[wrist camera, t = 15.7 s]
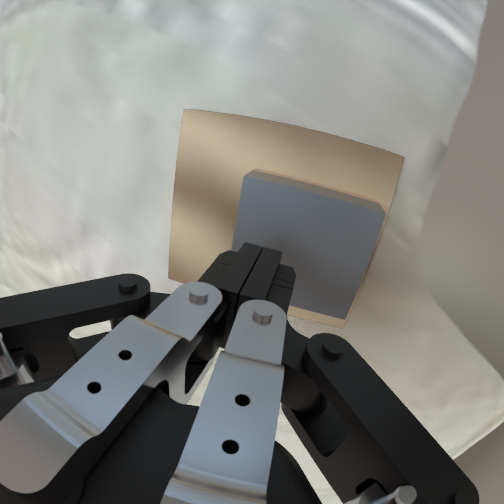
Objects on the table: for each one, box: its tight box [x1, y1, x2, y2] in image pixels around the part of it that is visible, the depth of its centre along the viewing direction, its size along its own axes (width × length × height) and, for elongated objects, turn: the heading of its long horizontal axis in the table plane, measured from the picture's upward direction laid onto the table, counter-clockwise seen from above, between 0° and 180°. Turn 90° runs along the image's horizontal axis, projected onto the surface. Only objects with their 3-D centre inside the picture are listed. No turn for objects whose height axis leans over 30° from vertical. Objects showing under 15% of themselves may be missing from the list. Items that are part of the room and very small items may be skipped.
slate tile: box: [231, 169, 386, 320], centre depth 15 cm, size 6×2×7 cm
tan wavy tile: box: [168, 109, 404, 329], centre depth 16 cm, size 11×12×1 cm
